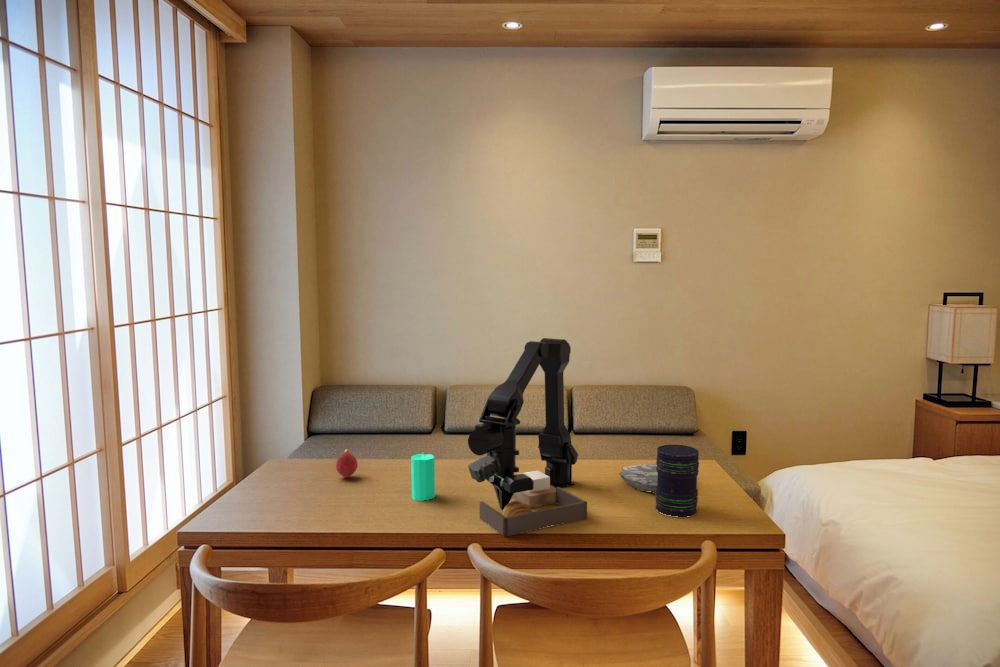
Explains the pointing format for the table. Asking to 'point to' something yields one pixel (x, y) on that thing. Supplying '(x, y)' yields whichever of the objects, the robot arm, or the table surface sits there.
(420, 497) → the candle
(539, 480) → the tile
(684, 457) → the storage jar
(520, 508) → the pastry
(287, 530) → the table surface
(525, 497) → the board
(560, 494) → the frame
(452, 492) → the table surface
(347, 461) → the onion
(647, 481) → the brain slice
